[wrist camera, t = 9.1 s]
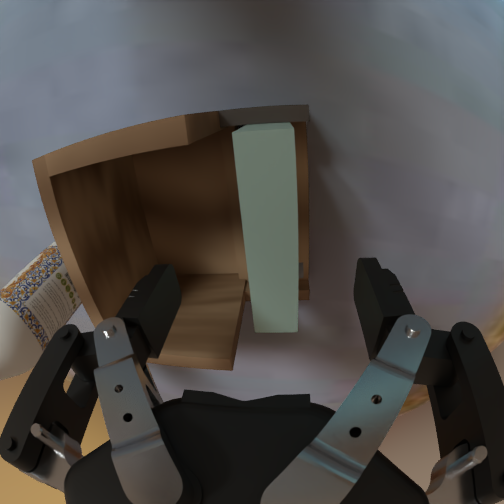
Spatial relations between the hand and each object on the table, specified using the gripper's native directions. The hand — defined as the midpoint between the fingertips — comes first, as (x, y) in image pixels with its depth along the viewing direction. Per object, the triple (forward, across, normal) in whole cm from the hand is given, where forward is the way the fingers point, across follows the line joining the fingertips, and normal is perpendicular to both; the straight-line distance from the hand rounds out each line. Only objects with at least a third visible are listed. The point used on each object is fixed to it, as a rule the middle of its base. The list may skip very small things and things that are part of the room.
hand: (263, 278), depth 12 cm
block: (+11, 0, 0) cm, 11 cm away
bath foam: (+11, +22, +5) cm, 25 cm away
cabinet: (+11, +4, +1) cm, 11 cm away
